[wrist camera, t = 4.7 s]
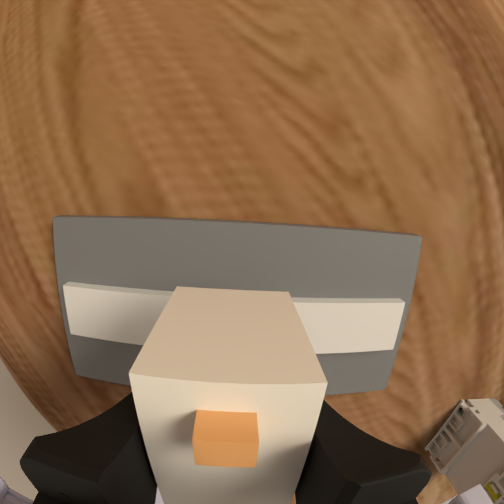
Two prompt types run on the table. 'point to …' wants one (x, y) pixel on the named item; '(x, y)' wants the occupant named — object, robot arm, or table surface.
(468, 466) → the circuit breaker
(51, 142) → the table surface
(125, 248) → the din board
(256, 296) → the block
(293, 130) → the table surface
